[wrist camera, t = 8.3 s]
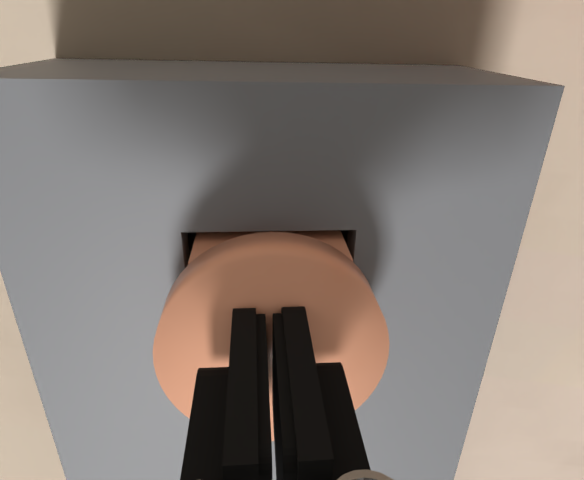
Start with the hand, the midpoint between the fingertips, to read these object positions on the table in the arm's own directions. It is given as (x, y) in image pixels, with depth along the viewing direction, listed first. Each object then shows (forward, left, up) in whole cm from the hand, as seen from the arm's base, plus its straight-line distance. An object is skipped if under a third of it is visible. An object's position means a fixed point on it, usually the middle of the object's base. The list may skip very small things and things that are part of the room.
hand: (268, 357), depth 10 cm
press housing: (0, +8, -8) cm, 12 cm away
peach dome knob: (0, 0, -6) cm, 6 cm away
